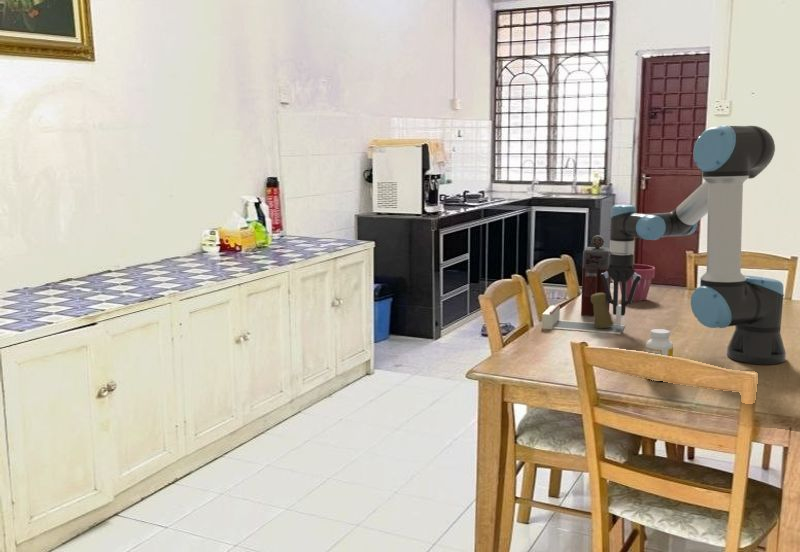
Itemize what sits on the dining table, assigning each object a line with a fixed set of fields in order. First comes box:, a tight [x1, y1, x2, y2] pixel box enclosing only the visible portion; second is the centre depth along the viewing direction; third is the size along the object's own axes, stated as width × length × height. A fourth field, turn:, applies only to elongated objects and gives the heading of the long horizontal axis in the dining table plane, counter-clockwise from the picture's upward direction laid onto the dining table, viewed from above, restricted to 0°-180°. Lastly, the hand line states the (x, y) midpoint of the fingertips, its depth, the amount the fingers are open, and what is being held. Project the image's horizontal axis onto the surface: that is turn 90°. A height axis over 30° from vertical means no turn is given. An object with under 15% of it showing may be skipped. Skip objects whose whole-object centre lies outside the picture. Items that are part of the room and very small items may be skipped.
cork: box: [591, 293, 614, 328], centre depth 258 cm, size 6×6×11 cm
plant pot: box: [619, 263, 656, 302], centre depth 304 cm, size 14×14×13 cm
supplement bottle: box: [645, 328, 674, 382], centre depth 205 cm, size 7×7×13 cm
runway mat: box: [551, 319, 626, 335], centre depth 261 cm, size 12×22×1 cm, turn 68°
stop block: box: [541, 303, 561, 330], centre depth 265 cm, size 14×3×6 cm, turn 158°
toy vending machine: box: [580, 234, 612, 317], centre depth 277 cm, size 9×11×28 cm
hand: (618, 324), depth 257 cm, fingers closed
